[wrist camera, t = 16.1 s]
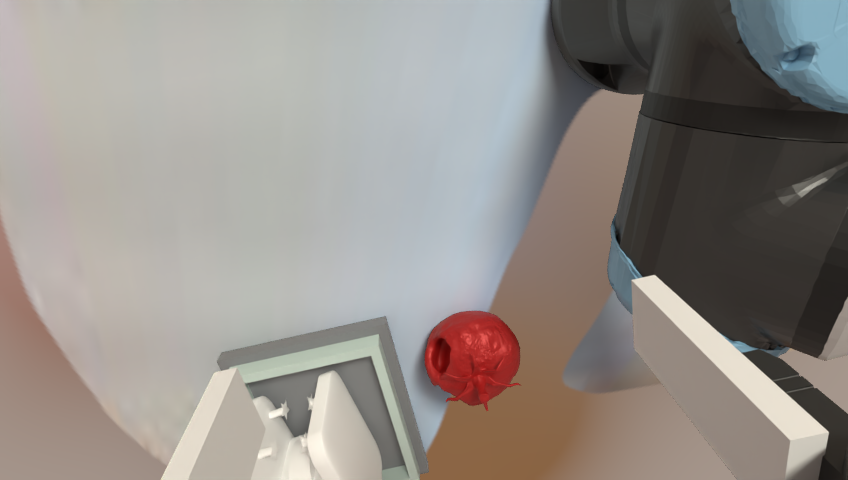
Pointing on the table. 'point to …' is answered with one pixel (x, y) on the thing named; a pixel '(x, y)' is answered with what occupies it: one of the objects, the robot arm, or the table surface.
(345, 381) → the grey green tray
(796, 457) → the robot arm
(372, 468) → the cable organizer
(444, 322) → the red tomato
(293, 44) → the table surface
